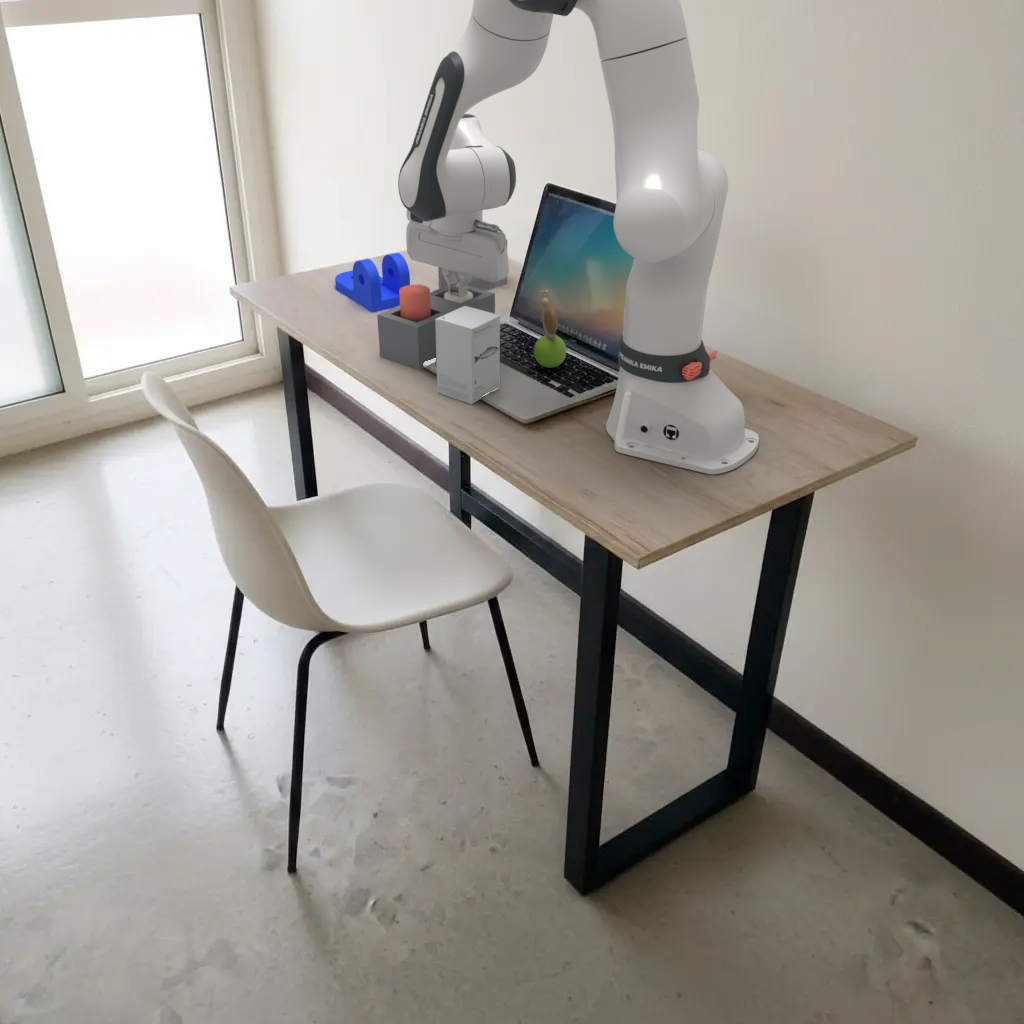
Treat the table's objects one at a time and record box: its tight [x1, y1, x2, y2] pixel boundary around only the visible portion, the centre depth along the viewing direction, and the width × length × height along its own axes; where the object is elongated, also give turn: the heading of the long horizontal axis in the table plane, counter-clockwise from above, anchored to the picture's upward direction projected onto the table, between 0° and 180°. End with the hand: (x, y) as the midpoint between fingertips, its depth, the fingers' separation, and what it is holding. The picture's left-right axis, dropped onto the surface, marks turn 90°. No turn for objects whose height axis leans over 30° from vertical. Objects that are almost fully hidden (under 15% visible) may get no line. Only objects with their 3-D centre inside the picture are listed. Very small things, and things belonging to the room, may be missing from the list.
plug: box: [444, 291, 473, 303], centre depth 184 cm, size 5×5×6 cm
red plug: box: [399, 284, 431, 322], centre depth 175 cm, size 5×5×6 cm
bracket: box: [334, 252, 411, 314], centre depth 202 cm, size 18×8×9 cm, turn 35°
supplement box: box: [435, 306, 501, 405], centre depth 164 cm, size 7×7×13 cm
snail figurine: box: [533, 289, 567, 369], centre depth 173 cm, size 5×6×12 cm
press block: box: [376, 285, 496, 371], centre depth 181 cm, size 9×20×8 cm, turn 142°
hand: (457, 294), depth 183 cm, fingers closed, pressing on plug
